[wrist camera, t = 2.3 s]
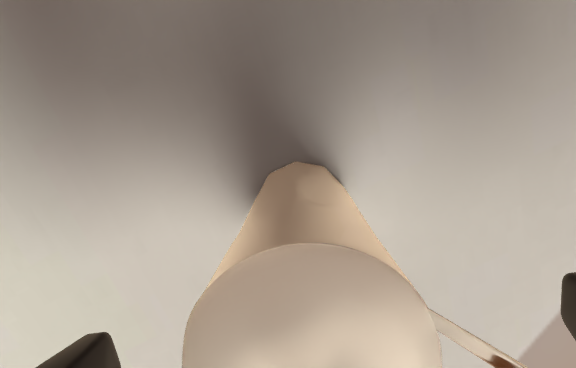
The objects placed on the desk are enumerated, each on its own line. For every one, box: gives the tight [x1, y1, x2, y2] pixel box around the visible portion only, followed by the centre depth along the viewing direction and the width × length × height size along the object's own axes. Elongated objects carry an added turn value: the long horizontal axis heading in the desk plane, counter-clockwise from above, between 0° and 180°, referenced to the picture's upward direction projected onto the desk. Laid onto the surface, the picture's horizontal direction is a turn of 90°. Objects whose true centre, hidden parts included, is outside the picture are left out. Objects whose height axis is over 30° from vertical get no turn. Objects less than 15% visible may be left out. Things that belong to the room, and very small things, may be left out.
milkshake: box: [182, 161, 528, 368], centre depth 10 cm, size 4×5×10 cm
